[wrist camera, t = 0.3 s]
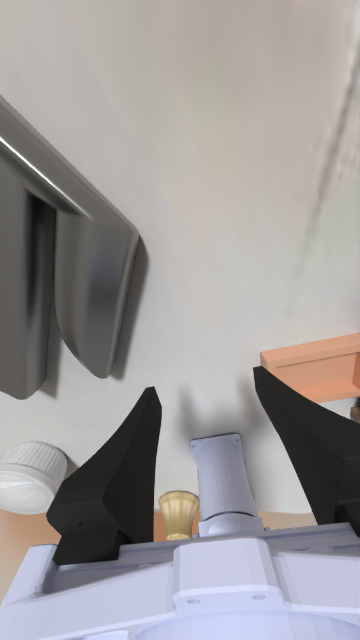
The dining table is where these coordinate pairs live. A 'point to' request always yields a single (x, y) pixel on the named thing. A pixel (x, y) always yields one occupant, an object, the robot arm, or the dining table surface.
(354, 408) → the wooden block
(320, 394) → the shallow pink tray
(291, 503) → the dining table surface
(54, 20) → the dining table surface
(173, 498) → the hand bell
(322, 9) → the dining table surface
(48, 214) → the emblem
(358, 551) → the robot arm
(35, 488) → the ramekin
